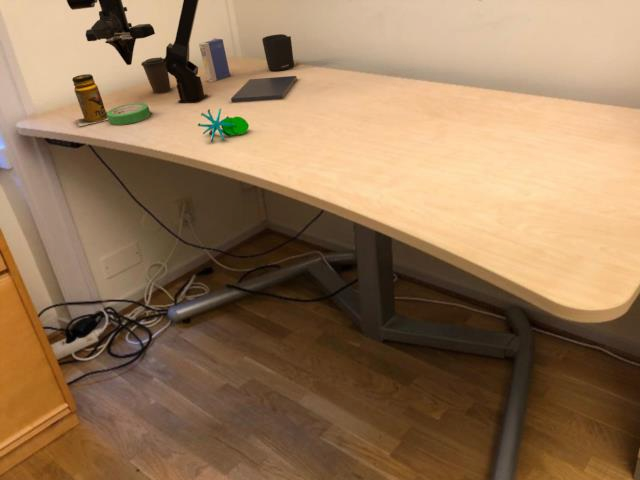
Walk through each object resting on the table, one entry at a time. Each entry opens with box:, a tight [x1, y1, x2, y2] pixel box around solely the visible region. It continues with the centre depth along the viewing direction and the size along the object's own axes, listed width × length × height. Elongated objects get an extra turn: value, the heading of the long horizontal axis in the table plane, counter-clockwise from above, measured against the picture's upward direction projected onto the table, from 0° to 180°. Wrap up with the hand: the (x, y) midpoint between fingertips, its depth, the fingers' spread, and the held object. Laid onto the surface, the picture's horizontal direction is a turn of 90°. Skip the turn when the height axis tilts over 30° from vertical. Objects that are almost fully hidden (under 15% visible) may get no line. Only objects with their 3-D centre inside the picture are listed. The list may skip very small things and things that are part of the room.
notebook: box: [230, 75, 298, 103], centre depth 174 cm, size 15×21×1 cm
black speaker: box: [261, 33, 295, 72], centre depth 195 cm, size 9×9×10 cm
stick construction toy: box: [197, 108, 250, 143], centre depth 141 cm, size 12×7×8 cm
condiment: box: [71, 73, 109, 127], centre depth 162 cm, size 7×8×12 cm
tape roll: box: [106, 102, 151, 126], centre depth 162 cm, size 11×11×3 cm
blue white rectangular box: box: [198, 37, 231, 83], centre depth 191 cm, size 8×3×12 cm, turn 141°
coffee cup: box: [140, 56, 172, 95], centre depth 184 cm, size 8×8×10 cm
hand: (129, 64), depth 166 cm, fingers closed
